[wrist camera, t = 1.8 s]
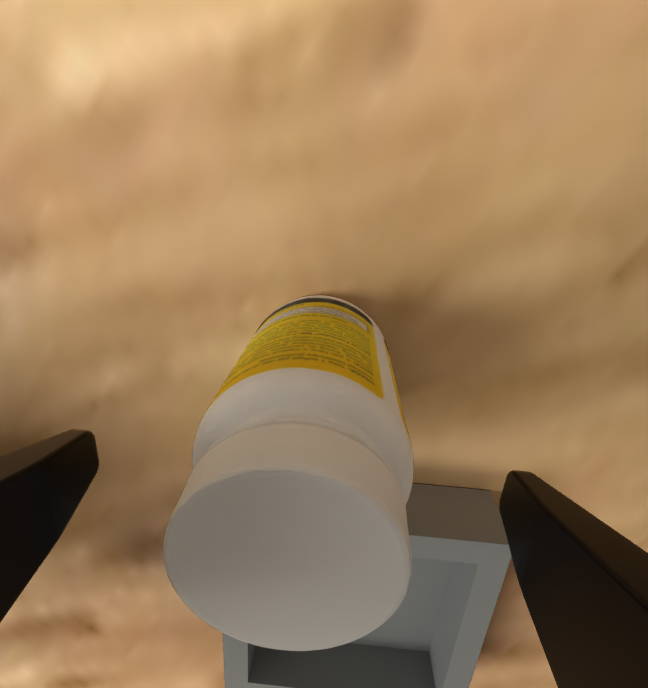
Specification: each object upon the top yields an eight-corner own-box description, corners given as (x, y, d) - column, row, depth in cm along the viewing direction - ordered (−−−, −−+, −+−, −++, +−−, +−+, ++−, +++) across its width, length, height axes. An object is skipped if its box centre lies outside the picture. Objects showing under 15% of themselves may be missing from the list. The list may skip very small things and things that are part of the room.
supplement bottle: (227, 338, 14) (70, 528, 6) (339, 265, 13) (324, 381, 5) (304, 437, 15) (257, 697, 7) (413, 378, 14) (494, 612, 6)
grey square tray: (240, 631, 19) (225, 694, 17) (238, 466, 16) (217, 516, 13) (443, 653, 19) (457, 720, 17) (489, 490, 16) (515, 545, 13)
